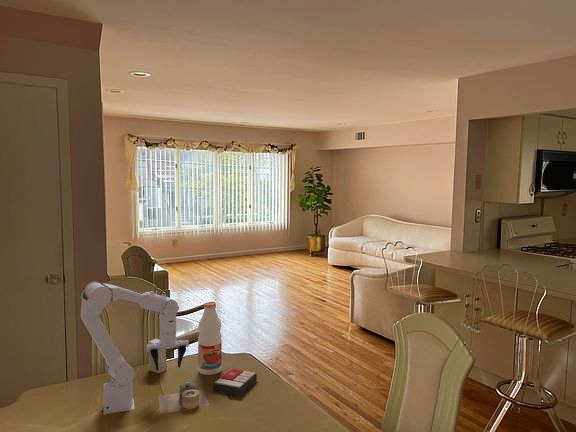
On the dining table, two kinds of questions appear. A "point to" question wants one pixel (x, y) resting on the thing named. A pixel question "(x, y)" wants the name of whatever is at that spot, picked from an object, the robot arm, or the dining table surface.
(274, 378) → the dining table surface
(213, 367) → the fruit juice
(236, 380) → the red white black box
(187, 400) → the maple gear
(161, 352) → the skincare box
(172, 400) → the gear board
